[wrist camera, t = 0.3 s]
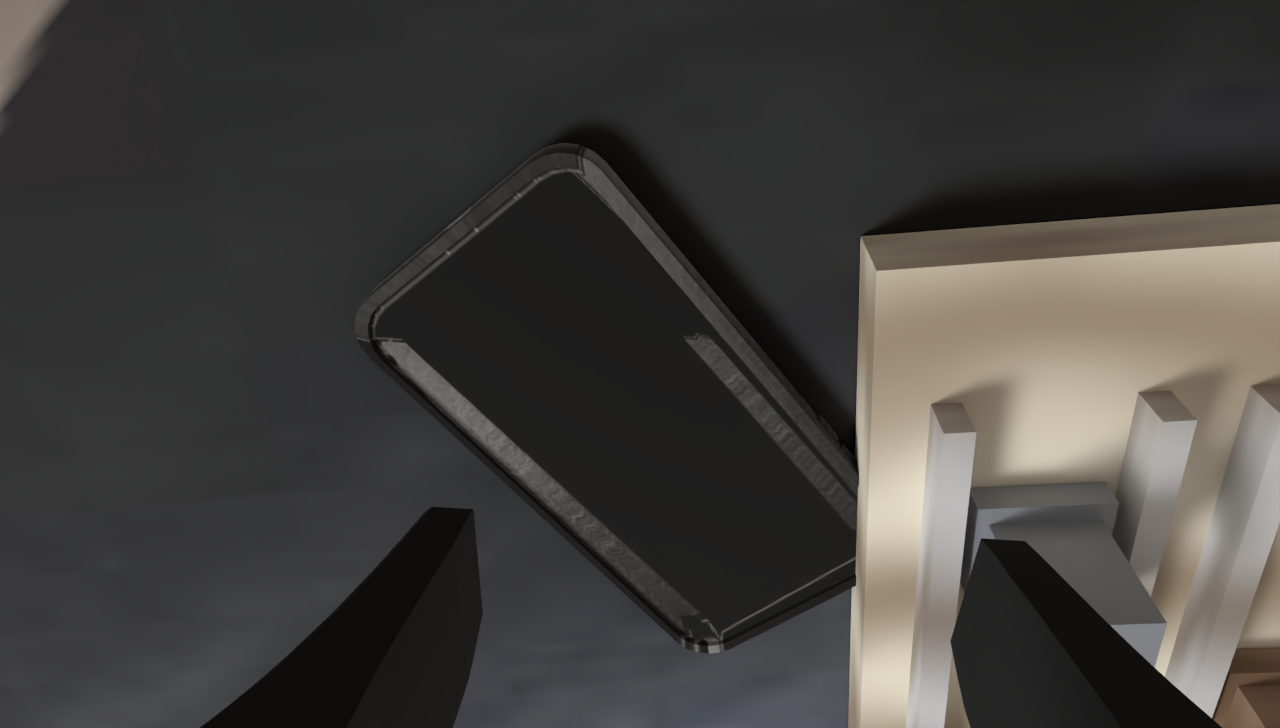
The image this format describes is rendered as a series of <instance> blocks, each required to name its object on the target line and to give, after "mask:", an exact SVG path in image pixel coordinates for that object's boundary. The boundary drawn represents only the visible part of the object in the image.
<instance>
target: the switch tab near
mask: <svg viewBox="0 0 1280 728" xmlns="http://www.w3.org/2000/svg"><path fill="white" fill-rule="evenodd" d="M1118 506H1119V502H1118V501H1117V499H1116V498H1115V496H1114V495H1113V493H1112V492H1111V490H1110V489H1109V487H1108V486H1107V484H1106V483H1105V482H1092V483H1071V484H1050V485H1029V486H1008V487H987V488H970V496H969V505H968V514H967V523H966V532H965V541H964V550H963V559H962V568H961V577H960V583H961V586H962V589H963V591H964V594H965V591H966V587H967V584H968V581H969V577H970V574H971V570H972V567H973V564H974V560H975V557H976V554H977V550H978V547H979V544H980V540H981V538H982V539H1000V540H1017V541H1026V542H1027V543H1028V544H1029V545H1030V546H1031V547H1032V548H1033V549H1034V550H1035V551H1036V552H1037V553H1038V554H1039V555H1040V556H1041V557H1042V558H1043V559H1044V560H1045V561H1046V562H1047V563H1048V564H1049V565H1050V566H1051V567H1052V568H1053V569H1054V570H1055V571H1056V572H1057V573H1058V574H1059V575H1060V576H1061V577H1062V578H1063V579H1064V580H1065V581H1066V582H1067V583H1068V584H1069V585H1070V586H1071V587H1072V588H1073V589H1074V590H1075V591H1076V592H1077V593H1078V594H1079V595H1080V596H1081V597H1082V598H1083V599H1084V600H1085V601H1086V602H1087V603H1088V604H1089V605H1090V606H1091V607H1092V608H1093V609H1094V610H1095V611H1096V612H1097V613H1098V614H1099V615H1100V616H1101V617H1102V618H1103V619H1104V620H1105V621H1106V622H1107V623H1108V624H1109V625H1110V626H1111V627H1112V628H1114V629H1115V630H1116V631H1117V632H1118V633H1119V634H1120V635H1121V636H1122V637H1123V638H1124V639H1125V640H1126V641H1127V642H1128V643H1129V644H1130V645H1131V646H1132V647H1133V648H1134V649H1135V650H1136V651H1137V652H1138V653H1140V654H1141V655H1142V656H1143V657H1144V658H1145V659H1146V660H1147V661H1148V662H1149V663H1150V664H1151V665H1152V666H1153V667H1154V668H1155V664H1156V661H1157V657H1158V654H1159V650H1160V647H1161V643H1162V640H1163V636H1164V633H1165V629H1166V626H1167V622H1166V621H1165V619H1164V617H1163V616H1162V614H1161V613H1160V611H1159V610H1158V608H1157V606H1156V605H1155V603H1154V602H1153V600H1152V598H1151V597H1150V595H1149V594H1148V592H1147V590H1146V589H1145V587H1144V586H1143V584H1142V583H1141V581H1140V579H1139V578H1138V576H1137V575H1136V573H1135V571H1134V570H1133V568H1132V567H1131V565H1130V564H1129V562H1128V560H1127V559H1126V557H1125V556H1124V554H1123V552H1122V551H1121V549H1120V548H1119V546H1118V544H1117V543H1116V541H1115V540H1114V538H1113V537H1112V533H1113V528H1114V524H1115V519H1116V515H1117V510H1118Z"/></svg>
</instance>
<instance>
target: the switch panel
mask: <svg viewBox="0 0 1280 728" xmlns="http://www.w3.org/2000/svg"><path fill="white" fill-rule="evenodd" d="M855 458H856V461H857V470H858V474H859V487H858V505H857V540H856V586H854V587H852V600H851V639H850V678H849V718H848V728H971V727H970V724H969V721H968V718H967V715H966V712H965V709H964V704H963V700H962V695H961V691H960V686H959V682H958V677H957V672H956V667H955V662H954V657H953V652H952V647H951V642H950V641H951V637H952V634H953V631H954V627H955V624H956V621H957V617H958V614H959V611H960V607H961V604H962V601H963V597H964V591H963V589H962V586H961V583H960V577H961V568H962V559H963V550H964V541H965V532H966V523H967V514H968V505H969V496H970V488H987V487H1008V486H1029V485H1050V484H1071V483H1092V482H1105V483H1106V484H1107V486H1108V487H1109V489H1110V490H1111V492H1112V493H1113V495H1114V496H1115V498H1116V499H1117V501H1118V502H1119V506H1118V510H1117V515H1116V519H1115V524H1114V528H1113V533H1112V537H1113V538H1114V540H1115V541H1116V543H1117V544H1118V546H1119V548H1120V549H1121V551H1122V552H1123V554H1124V556H1125V557H1126V559H1127V560H1128V562H1129V564H1130V565H1131V567H1132V568H1133V570H1134V571H1135V573H1136V575H1137V576H1138V578H1139V579H1140V581H1141V583H1142V584H1143V586H1144V587H1145V589H1146V590H1147V592H1148V594H1149V595H1150V597H1151V598H1152V600H1153V602H1154V603H1155V605H1156V606H1157V608H1158V610H1159V611H1160V613H1161V614H1162V616H1163V617H1164V619H1165V621H1166V622H1167V626H1166V629H1165V633H1164V636H1163V640H1162V643H1161V647H1160V650H1159V654H1158V657H1157V661H1156V664H1155V668H1156V669H1157V670H1158V671H1159V672H1160V673H1161V674H1162V675H1163V676H1164V677H1165V678H1166V679H1168V680H1169V681H1170V682H1171V683H1172V684H1173V685H1174V686H1175V687H1176V688H1178V689H1179V690H1180V691H1181V692H1182V693H1183V694H1184V695H1186V696H1187V697H1188V698H1189V699H1190V700H1191V701H1192V702H1194V703H1195V704H1196V705H1197V706H1198V707H1199V708H1200V709H1202V710H1203V711H1204V712H1205V713H1206V714H1207V715H1208V716H1210V717H1211V718H1212V717H1213V714H1214V711H1215V708H1216V705H1217V702H1218V699H1219V696H1220V694H1221V691H1222V688H1223V685H1224V682H1225V679H1226V676H1227V673H1228V670H1229V668H1230V665H1231V662H1232V659H1233V656H1234V653H1235V650H1236V649H1261V648H1280V204H1274V205H1261V206H1249V207H1236V208H1223V209H1210V210H1197V211H1184V212H1171V213H1158V214H1145V215H1132V216H1119V217H1106V218H1093V219H1080V220H1067V221H1054V222H1041V223H1028V224H1015V225H1002V226H989V227H976V228H963V229H950V230H937V231H924V232H911V233H898V234H885V235H872V236H861V244H860V284H859V323H858V363H857V402H856V442H855Z"/></svg>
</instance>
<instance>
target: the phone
mask: <svg viewBox="0 0 1280 728" xmlns="http://www.w3.org/2000/svg"><path fill="white" fill-rule="evenodd" d="M514 172H515V173H514ZM513 173H514V174H513ZM512 174H513V175H512ZM354 323H355V335H356V337H357V340H358V342H359V344H360V347H361V348H362V349H363V350H364V352H365V353H366V354H367V355H368V356H369V358H370V359H371V360H372V361H373V362H375V363H376V364H377V365H378V366H379V367H380V368H381V369H382V370H383V371H384V372H385V373H386V374H388V375H389V376H390V377H391V378H392V379H393V380H394V381H395V382H396V383H397V384H398V385H399V386H401V387H402V388H403V389H404V390H405V391H406V392H407V393H408V394H409V395H410V396H411V397H412V398H414V399H415V400H416V401H417V402H418V403H419V404H420V405H421V406H422V407H423V408H424V409H425V410H426V411H428V412H429V413H430V414H431V415H432V416H433V417H434V418H435V419H436V420H437V421H438V422H439V423H441V424H442V425H443V426H444V427H445V428H446V429H447V430H448V431H449V432H450V433H451V434H452V435H454V436H455V437H456V438H457V439H458V440H459V441H460V442H461V443H462V444H463V445H464V446H465V447H467V448H468V449H469V450H470V451H471V452H472V453H473V454H474V455H475V456H476V457H477V458H478V459H480V460H481V461H482V462H483V463H484V464H485V465H486V466H487V467H488V468H489V469H490V470H491V471H493V472H494V473H495V474H496V475H497V476H498V477H499V478H500V479H501V480H502V481H503V482H504V483H505V484H507V485H508V486H509V487H510V488H511V489H512V490H513V491H514V492H515V493H516V494H517V495H518V496H520V497H521V498H522V499H523V500H524V501H525V502H526V503H527V504H528V505H529V506H530V507H531V508H533V509H534V510H535V511H536V512H537V513H538V514H539V515H540V516H541V517H542V518H543V519H544V520H546V521H547V522H548V523H549V524H550V525H551V526H552V527H553V528H554V529H555V530H556V531H557V532H559V533H560V534H561V535H562V536H563V537H564V538H565V539H566V540H567V541H568V542H569V543H570V544H572V545H573V546H574V547H575V548H576V549H577V550H578V551H579V552H580V553H581V554H582V555H583V556H585V557H586V558H587V559H588V560H589V561H590V562H591V563H592V564H593V565H594V566H595V567H596V568H597V569H599V570H600V571H601V572H602V573H603V574H604V575H605V576H606V577H607V578H608V579H609V580H610V581H612V582H613V583H614V584H615V585H616V586H617V587H618V588H619V589H620V590H621V591H622V592H623V593H625V594H626V595H627V596H628V597H629V598H630V599H631V600H632V601H633V602H634V603H635V604H636V605H638V606H639V607H640V608H641V609H642V610H643V611H644V612H645V613H646V614H647V615H648V616H649V617H651V618H652V619H653V620H654V621H655V622H656V623H657V624H658V625H659V626H660V627H661V628H662V629H664V630H665V631H666V632H667V633H668V634H669V635H670V636H671V637H672V638H673V639H674V640H675V641H677V642H678V643H679V644H680V645H682V646H683V647H685V648H686V649H689V650H692V651H695V652H699V653H708V654H710V653H719V652H723V651H726V650H729V649H731V648H733V647H735V646H737V645H739V644H741V643H743V642H745V641H747V640H749V639H751V638H753V637H755V636H757V635H759V634H761V633H763V632H765V631H767V630H769V629H771V628H773V627H775V626H777V625H779V624H781V623H783V622H785V621H787V620H789V619H791V618H793V617H795V616H797V615H799V614H801V613H803V612H805V611H807V610H809V609H811V608H813V607H815V606H817V605H819V604H821V603H823V602H825V601H827V600H829V599H831V598H833V597H835V596H837V595H839V594H841V593H843V592H845V591H847V590H849V589H851V588H852V587H854V586H856V540H857V505H858V487H859V474H858V470H857V461H856V458H855V457H854V455H853V454H852V453H851V452H850V451H849V449H848V448H847V447H846V446H845V445H844V443H842V444H841V443H840V442H839V441H838V435H837V434H836V433H835V432H834V430H833V429H832V428H831V427H830V426H829V424H828V423H827V422H826V421H825V420H824V418H823V417H822V416H821V415H819V416H817V414H816V413H815V412H814V411H813V410H812V408H811V407H810V406H809V405H808V404H807V402H806V401H805V400H804V399H803V398H802V396H801V395H800V394H799V393H798V392H797V390H796V389H795V388H794V387H793V386H792V384H791V383H790V382H789V381H788V380H787V378H786V377H785V376H784V375H783V374H782V372H781V371H780V370H779V369H778V368H777V366H776V365H775V364H774V363H773V362H772V360H771V359H770V358H769V357H768V356H767V354H766V353H765V352H764V351H763V350H762V348H761V347H760V346H759V345H758V344H757V342H756V341H755V340H754V339H753V338H752V336H751V335H750V334H749V333H748V332H747V330H746V329H745V328H744V327H743V326H742V324H741V323H740V322H739V321H738V320H737V318H736V317H735V316H734V315H733V314H732V312H731V311H730V310H729V309H728V308H727V306H726V305H725V304H724V303H723V302H722V300H721V299H720V298H719V297H718V296H717V294H716V293H715V292H714V291H713V290H712V288H711V287H710V286H709V285H708V284H707V282H706V281H705V280H704V279H703V278H702V276H701V275H700V274H699V273H698V272H697V270H696V269H695V268H694V267H693V266H692V264H691V263H690V262H689V261H688V260H687V258H686V257H685V256H684V255H683V254H682V252H681V251H680V250H679V249H678V248H677V246H676V245H675V244H674V243H673V242H672V240H671V239H670V238H669V237H668V236H667V234H666V233H665V232H664V231H663V230H662V228H661V227H660V226H659V225H658V224H657V222H656V221H655V220H654V219H653V218H652V216H651V215H650V214H649V213H648V212H647V210H646V209H645V208H644V207H643V206H642V204H641V203H640V202H639V201H638V200H637V198H636V197H635V196H634V195H633V194H632V192H631V191H630V190H629V189H628V188H627V186H626V185H625V184H624V183H623V182H622V180H621V179H620V178H619V177H618V176H617V174H616V173H615V172H614V171H613V170H612V168H611V167H610V166H609V165H608V164H607V162H606V161H604V160H603V159H602V158H601V157H600V156H599V155H598V154H597V153H595V152H594V151H592V150H590V149H588V148H586V147H583V146H581V145H578V144H570V143H559V144H554V145H549V146H547V147H545V148H543V149H542V150H540V151H538V152H536V153H535V154H533V155H532V156H531V157H530V158H529V159H527V160H526V161H525V162H524V163H523V164H521V165H520V166H519V167H518V168H517V169H516V170H514V171H513V172H512V173H511V174H510V175H508V176H507V177H506V178H505V179H504V180H502V181H501V182H500V183H499V184H498V185H496V186H495V187H494V188H493V189H492V190H490V191H489V192H488V193H487V194H486V195H484V196H483V197H482V198H481V199H480V200H479V201H477V202H476V203H475V204H474V205H473V206H471V207H470V208H469V209H468V210H467V211H465V212H464V213H463V214H462V215H461V216H459V217H458V218H457V219H456V220H455V221H453V222H452V223H451V224H450V225H449V226H448V227H446V228H445V229H444V230H443V231H442V232H440V233H439V234H438V235H437V236H436V237H434V238H433V239H432V240H431V241H430V242H428V243H427V244H426V245H425V246H424V247H422V248H421V249H420V250H419V251H418V252H416V253H415V254H414V255H413V256H412V257H411V258H409V259H408V260H407V261H406V262H405V263H403V264H402V265H401V266H400V267H399V268H397V269H396V270H395V271H394V272H393V273H391V274H390V275H389V276H388V277H387V278H385V279H384V280H383V281H382V282H381V283H380V284H378V285H377V286H376V287H375V288H374V290H373V291H372V292H371V293H370V295H369V296H368V297H367V298H366V300H365V301H364V302H363V304H362V305H361V306H360V308H359V309H358V312H357V315H356V318H355V322H354Z"/></svg>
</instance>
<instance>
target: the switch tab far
mask: <svg viewBox="0 0 1280 728" xmlns="http://www.w3.org/2000/svg"><path fill="white" fill-rule="evenodd" d="M1212 719H1213V720H1214V721H1215V722H1216V723H1218V724H1219V725H1220V726H1221V727H1222V728H1280V648H1261V649H1236V650H1235V653H1234V656H1233V659H1232V662H1231V665H1230V668H1229V670H1228V673H1227V676H1226V679H1225V682H1224V685H1223V688H1222V691H1221V694H1220V696H1219V699H1218V702H1217V705H1216V708H1215V711H1214V714H1213V717H1212Z"/></svg>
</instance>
